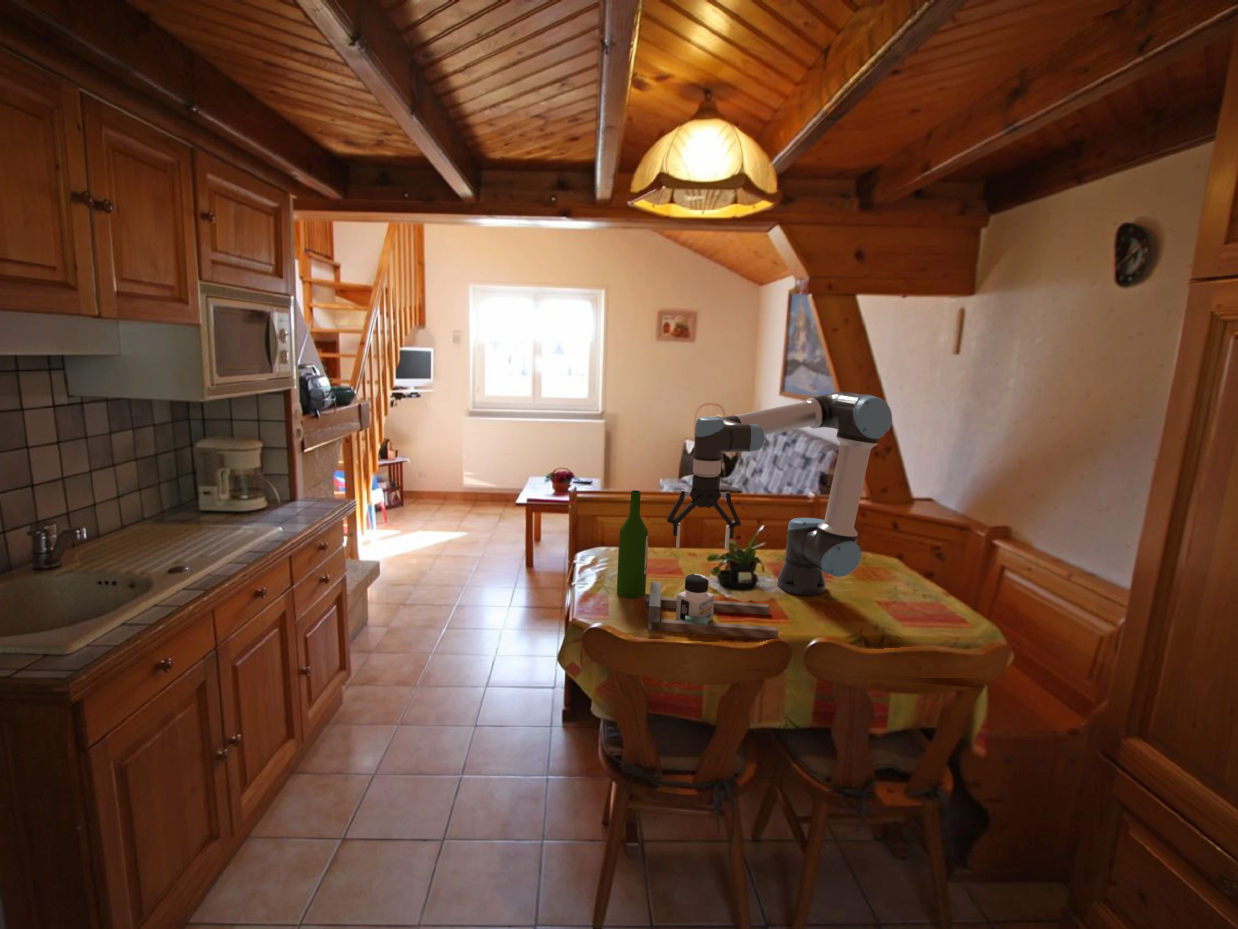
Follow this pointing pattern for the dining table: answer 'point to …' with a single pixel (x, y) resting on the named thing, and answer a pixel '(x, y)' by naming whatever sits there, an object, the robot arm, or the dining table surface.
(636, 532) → the wine bottle
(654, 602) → the wooden frame
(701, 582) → the container
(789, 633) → the dining table surface
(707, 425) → the robot arm
